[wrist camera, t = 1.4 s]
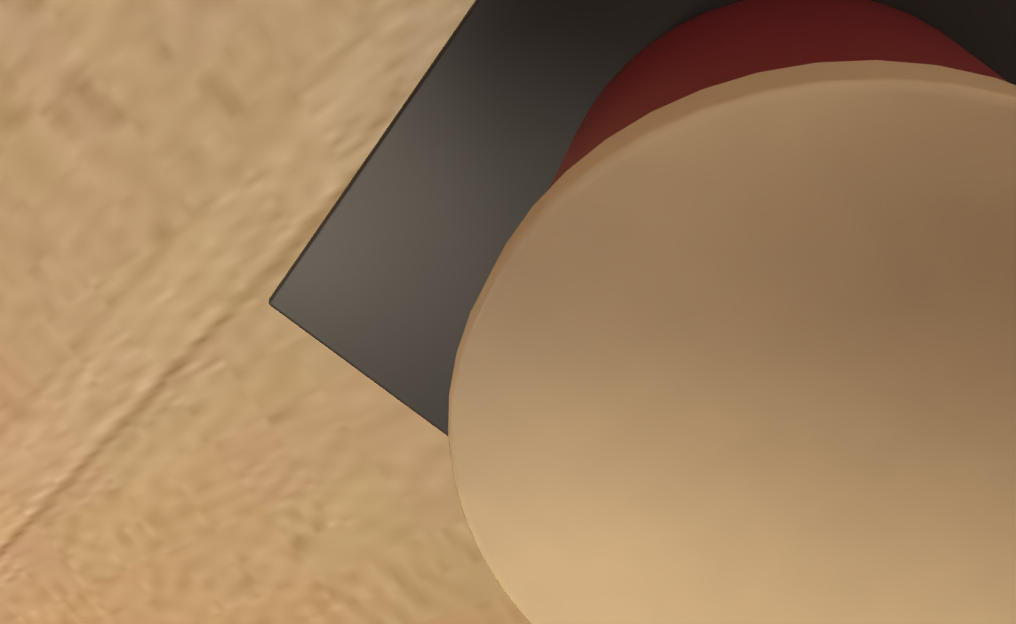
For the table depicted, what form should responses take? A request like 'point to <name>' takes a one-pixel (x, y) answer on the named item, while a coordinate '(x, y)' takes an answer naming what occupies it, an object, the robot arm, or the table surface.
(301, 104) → the table surface
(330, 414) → the table surface
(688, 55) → the tub
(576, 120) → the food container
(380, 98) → the table surface
